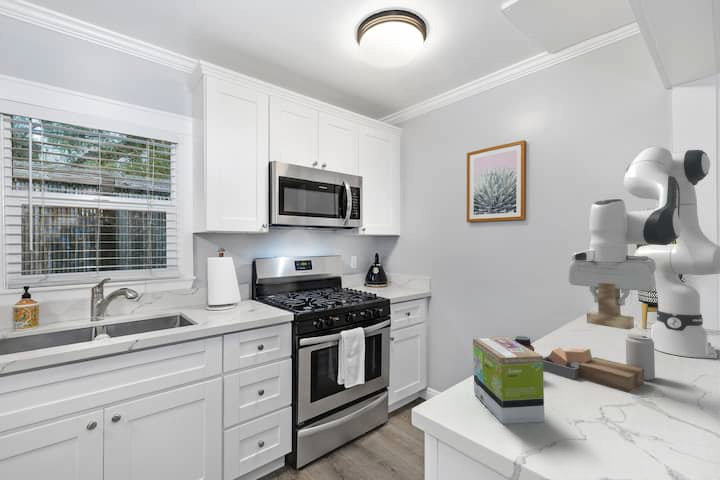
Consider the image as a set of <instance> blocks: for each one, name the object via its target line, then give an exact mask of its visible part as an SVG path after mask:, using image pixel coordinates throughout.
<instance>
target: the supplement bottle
mask: <svg viewBox="0 0 720 480" xmlns="http://www.w3.org/2000/svg"><path fill="white" fill-rule="evenodd" d="M514 341H516V342H517V343H519V344H521V345H523V346H525V347H527V348H528V349H530V350H532V351H534V352H535V347H534V345H532V344H531V343H532V342H531V338H530V337H529V336H525V335H516V336H515V340H514Z"/></svg>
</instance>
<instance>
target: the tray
mask: <svg viewBox="0 0 720 480" xmlns="http://www.w3.org/2000/svg"><path fill="white" fill-rule="evenodd" d="M549 355H550V354H548V355H546V356H543V372H546V373H549V374H553V375H556V376H559V377H563V378H566V379H569V380H573V381H576V380H578V379H580V378H579V366H578V364H580V363H581V362H573V363H572V364H571V366H569V367H566V366H562V365H559V364H555V363H554V362H553V361H551V360H550V359H549V358H548V357H549ZM592 358H594V357H592Z"/></svg>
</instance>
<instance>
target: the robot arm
mask: <svg viewBox="0 0 720 480" xmlns="http://www.w3.org/2000/svg"><path fill="white" fill-rule="evenodd" d="M710 168H711V160H710V158H709V156H708V154H707V152H705V151H704V150H701V149H688V150H686V151H679V152H671V151H670V150H669V149H667V148H665V147H662V146H652V147H649V148H645V149H644V150H642V151H641V152H640V153H638V155H637V156H636V157H635V158H634V159H633V160H632V162H631V163H629V165H628V166H627V168H626V171H625V174H624V177H623V187H624V188H625V190H626V192H628V193H629V194H630V195H631V196H634V197H635V198H638V199H644V200H655V205H654V206H655V208H653V209H649V210H637V211H627V208H626V204H625V201H624V199H619V198H614V199H613V198H612V199H611V198H610V199H604V200H598V201H595V202H594V203H593V204H592V205H591V207H590V211H589V212H590V213H589V223H588V224H589V228H588V229H589V233H590V241H589V248H588V249H587V250H583V251H579V252H575V253H573V254H571V261H572V262H571V263H570V265H569V268H568V279H567V280H568V283H570V285H571V286H581V287H589V291H590V293H591V294H592V296H593V298H594V299H593V300H594V301H593V302H594V303H596V304H597V303H598V283H605V284H615V289H620V294H622V295H621V296H620V298H618V299H616V301H617V305H620V307H624V306H626V299H627V297H629V295H630V294H631V291H639V292H652V291H654V290H656V295H657V296H656V297H657V310H656V322H655V323H653V324H652V325H651V336H650V337H652V340H653V342H654V350H656V351H659V352H661V353H666V354H669V355H674V356H679V357H680V356H681V357H688V358H698V359H700V358H702V359H703V358H704V359H705V358H706V359H718V354H717V350H716V347H714V346H712V343H711V342H709V340H708V339H709V338H708V332H707V331H706V330H705V328H704V327H703V324H704V322H703V321H704V319H703V315H702V313H701V295H700V293H699V291H698V290H697V289H696V288H694V287H693V286H691V285H688V284H686V283H684V282H683V281H682V280H681V279H680V277H679V275H690V276H691V275H692V276H711V275H717V274H718V275H720V245H718V244H716V243H715V242H713V241H712V240H710V239H709V238H708V237H707V236H706V235H705V234H704V232H703V231H702V228H701V227H700V222H699V216H698V202H697V201H698V200H697V193H696V190H695V189H696V188H695V186H696V185H697V184H698V183H699V182H700V181H702V180H704V178H705V177H706V176H707V175H708V174H709V173H710V172H709V171H710ZM675 241H676V242H675ZM673 242H675V243H673ZM629 245H641V246H639V247H638V248H637V249H636V250H635V252H634V254H633V255H629Z"/></svg>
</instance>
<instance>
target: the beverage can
mask: <svg viewBox="0 0 720 480" xmlns="http://www.w3.org/2000/svg"><path fill="white" fill-rule="evenodd" d="M625 363H626V365H630V366H634V367H639V368H643V369H644V381H647V382H648V381H652V380H654V379H655V378H656V368H655V364H656V363H655V349H654V342H653V340H652V337H651V336H649V335H646V334H640V333H639V334H638V333H627V336H626V338H625Z"/></svg>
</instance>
